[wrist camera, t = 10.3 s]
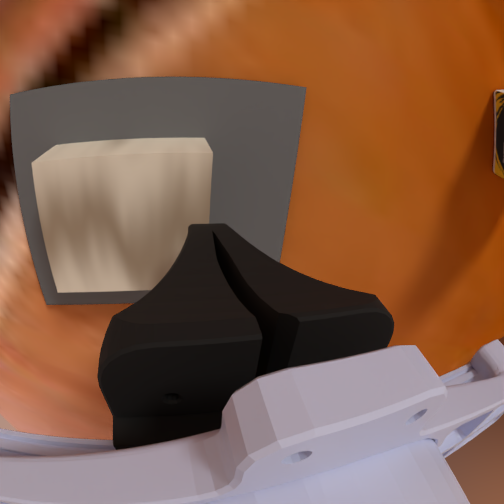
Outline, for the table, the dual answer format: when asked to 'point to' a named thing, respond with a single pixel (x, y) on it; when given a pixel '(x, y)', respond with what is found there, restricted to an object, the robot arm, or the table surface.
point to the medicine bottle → (498, 133)
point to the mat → (169, 126)
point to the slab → (120, 209)
